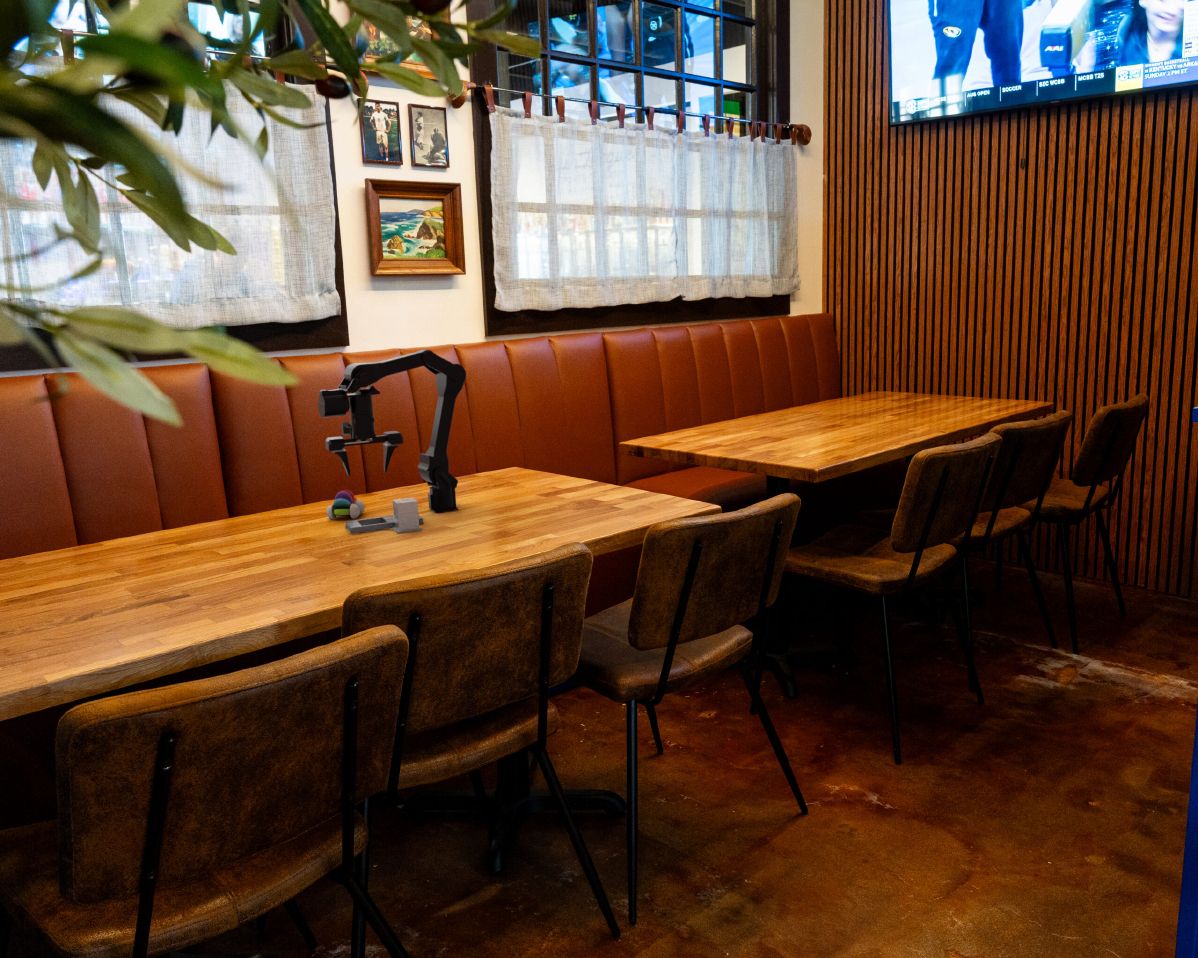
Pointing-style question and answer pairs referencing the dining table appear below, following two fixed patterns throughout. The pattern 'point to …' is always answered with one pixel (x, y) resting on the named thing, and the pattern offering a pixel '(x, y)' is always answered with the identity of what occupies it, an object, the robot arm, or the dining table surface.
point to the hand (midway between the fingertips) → (367, 474)
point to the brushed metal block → (406, 514)
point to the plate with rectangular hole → (372, 524)
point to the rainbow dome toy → (345, 505)
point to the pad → (405, 531)
